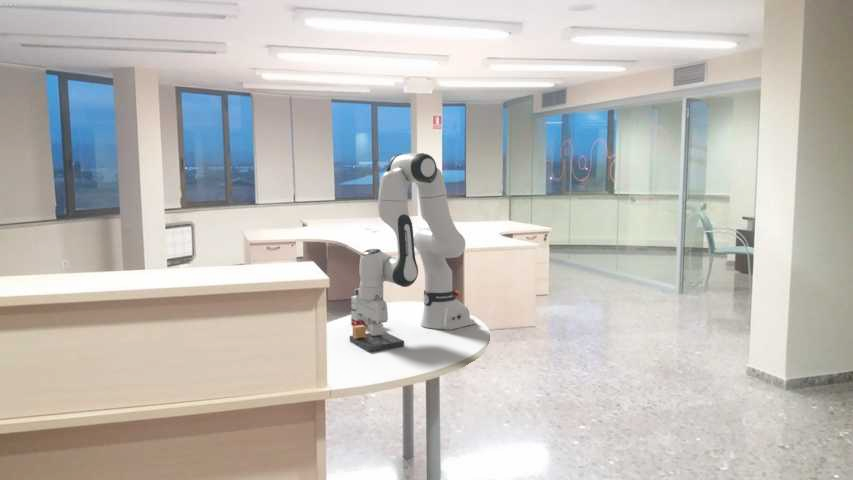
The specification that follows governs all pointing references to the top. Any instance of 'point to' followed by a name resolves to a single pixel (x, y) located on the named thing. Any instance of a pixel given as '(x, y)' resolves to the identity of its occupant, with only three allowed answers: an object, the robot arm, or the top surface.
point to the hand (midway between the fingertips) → (371, 329)
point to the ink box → (356, 314)
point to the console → (377, 342)
